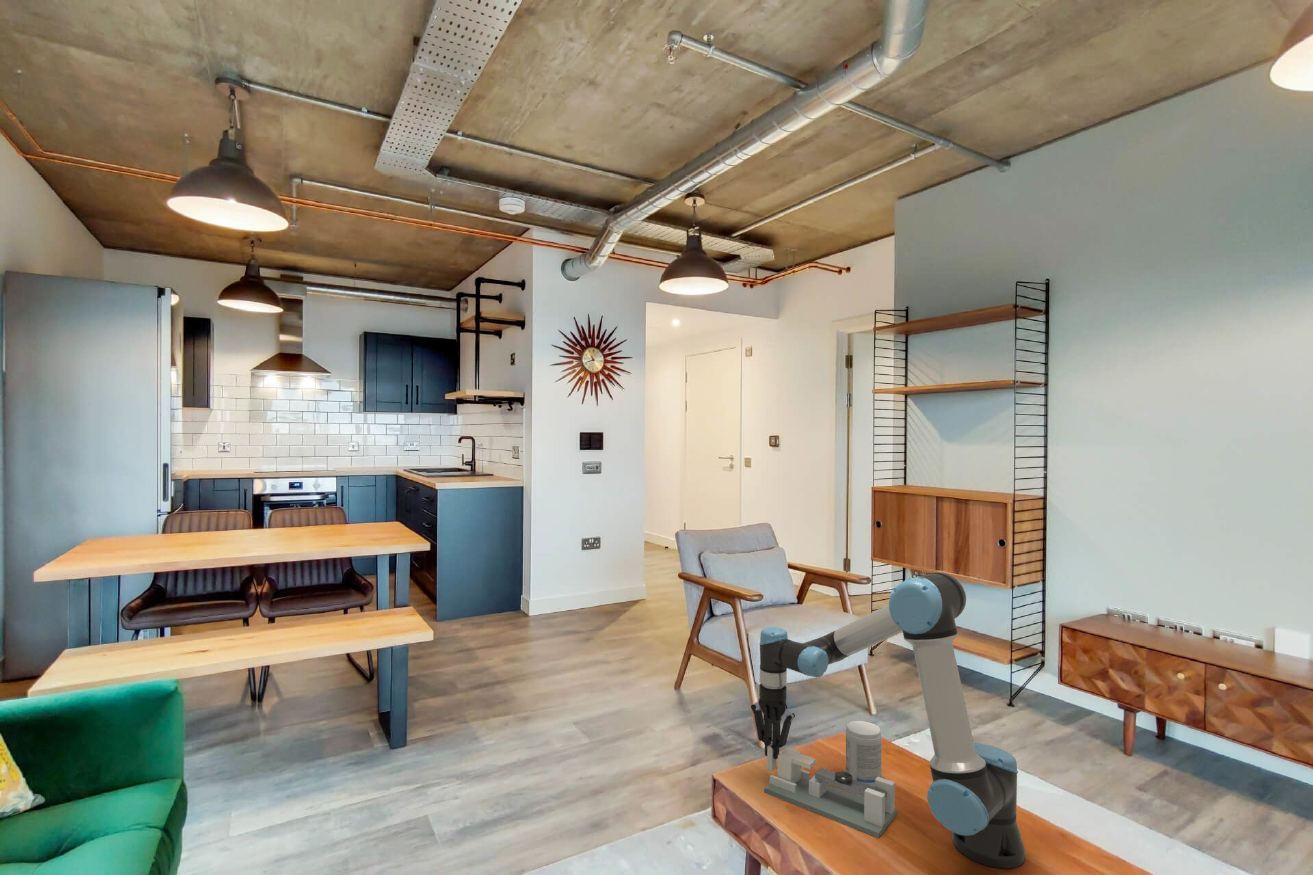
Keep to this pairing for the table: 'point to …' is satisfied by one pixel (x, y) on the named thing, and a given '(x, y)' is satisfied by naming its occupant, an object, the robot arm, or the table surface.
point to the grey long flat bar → (844, 781)
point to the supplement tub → (863, 751)
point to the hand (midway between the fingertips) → (771, 768)
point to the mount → (840, 801)
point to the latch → (793, 764)
